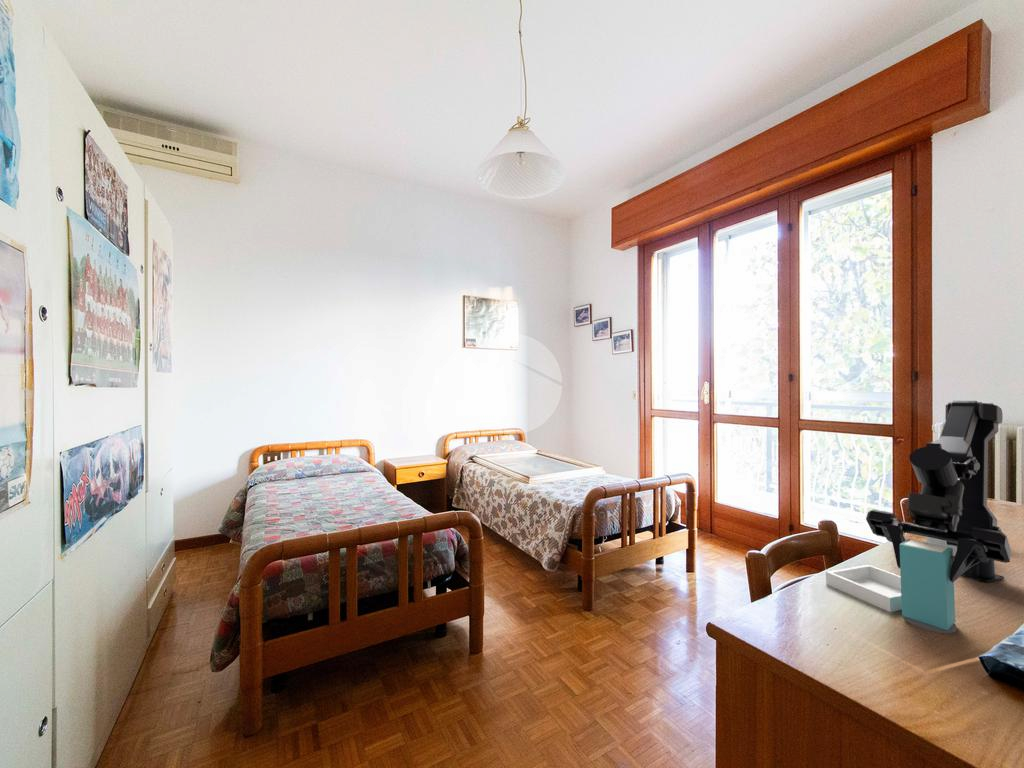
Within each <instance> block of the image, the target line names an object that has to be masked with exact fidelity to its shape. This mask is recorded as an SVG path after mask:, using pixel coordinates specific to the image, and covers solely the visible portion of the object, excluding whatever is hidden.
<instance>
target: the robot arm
mask: <svg viewBox="0 0 1024 768" xmlns="http://www.w3.org/2000/svg"><path fill="white" fill-rule="evenodd" d="M1003 418H1004V417H1003V410H1002V408H1001V407H1000V406H998V405H996V404H994V403H993V402H990V403H989V402H986V403H985V402H982V401H977V400H953V401H949V402H948V403H947V404H945V418H944V419H945V422H944V424H943V427H942V430H941V432H940V436H939V438H938V439H935V440H934V441H931V442H926V445H925V446H922V447H919V448H916V449H914V450H913V451H912V452H911V453H910V454H909V456H908V457H909V462H910V464H911V466H912V469H913V470H914V471H913V472H914V474H915V476H916V478H917V481H918V483H920V484H922V486H921V489H920V490H921V491H920V493H916V492H909V493H908V496H907V504H906V510H907V511H909V518H910V520H913V523H912V522H907V521H903V520H901V519H899V518H897V516H896V515H895V513H894V512H889V511H883V510H879V509H871V510H869V511H868V512H867V514H866V516H865V517H866V518H865V520H866V522H867V524H868V526H869V528H870V530H871V532H872V534H874V535H876V536H877V537H881V538H885V539H886V540H887V541H888V542H890V543H892V547H893V552H894V556H895V561H896V566H897V568H898V569H900V544H901V543H903V542H904V541H906V540H907V539H906V537H905V533H907V534H910V535H916V536H919V537H920V536H921V537H925V538H926V537H929V538H934V539H939V540H944V541H946V542H947V545H953V546H957V552H956V555H955V556H954V557H953V564H952V567H951V570H950V576H949V579H950V581H951V582H954V583H955V582H956V581H957V580H958V579H959V578H961V576H964V577H966V578H969V579H973V580H976V581H979V582H983V583H990V582H995V581H1000V580H1004V579H1005V576H1003V575H1000V574H997V573H996V570H995V569H996V568H995V566H996V565H995V562H1000V563H1005V564H1006V563H1011V557H1012V556H1011V555H1012V549H1011V546H1010V541H1009V540H1008V536H1007V535H1006V534H1005V533H1004V532H1003V530H1002V528H1001V527H1000V526H998V519H997V517H996V516H995V515H994V514H993V512H992V511H991V509H990V508H989V507H988V456H989V454H988V450H989V449H988V448H989V446H988V445H989V442H990V440H991V439H992V438H994V436H996V435H997V434H998V432H999V424H1003ZM958 479H959V480H958Z"/></svg>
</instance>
